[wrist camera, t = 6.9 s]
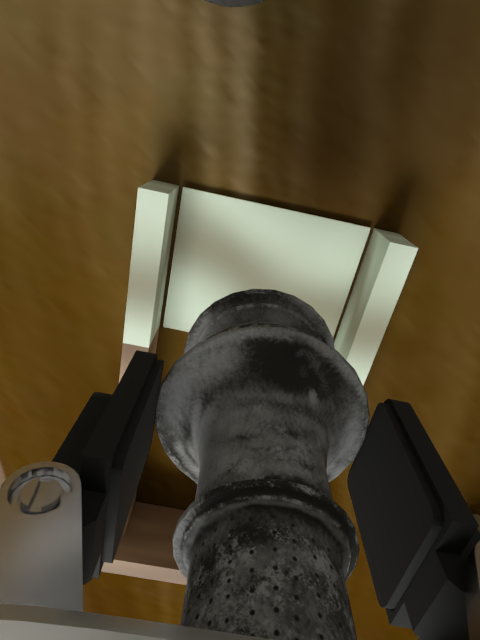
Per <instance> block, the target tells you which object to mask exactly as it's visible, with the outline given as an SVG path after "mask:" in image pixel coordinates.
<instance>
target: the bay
mask: <svg viewBox="0 0 480 640" xmlns="http://www.w3.org/2000/svg"><path fill="white" fill-rule="evenodd" d="M178 191H179V185H174V184H170V183H165V182H161V181H156V180H151V181H149V182H147V183H145V184H144V185H142V186H140V187H138V195H137V205H136V215H135V225H134V235H133V245H132V255H131V265H130V276H129V286H128V296H127V306H126V316H125V326H124V336H123V346H122V357H121V367H120V377H119V382H120V380H121V378H122V376H123V374H124V373H125V371H126V369H127V367H128V365H129V363H130V361H131V359H132V357H133V355H134V354H135V352H136V350H139V351H144V352H149V353H154V354H156V349H157V341H158V334H159V327H160V320H161V313H162V305H163V298H164V291H165V284H166V277H167V270H168V262H169V255H170V248H171V241H172V234H173V226H174V219H175V212H176V205H177V198H178ZM370 229H371V228H370V227H366V226H362V225H357V224H353V223H348V222H344V221H339V220H334V219H330V218H325V217H321V216H316V215H312V214H307V213H302V212H298V211H293V210H289V209H284V208H280V207H275V206H270V205H266V204H261V203H257V202H252V201H247V200H243V199H238V198H234V197H229V196H225V195H220V194H215V193H211V192H206V191H202V190H197V189H193V188H188V187H183V190H182V197H181V204H180V211H179V218H178V225H177V232H176V239H175V246H174V253H173V260H172V267H171V274H170V281H169V288H168V295H167V302H166V309H165V316H164V323H163V327H166V328H171V329H177V330H182V331H187V332H189V331H190V329H191V328H192V326H193V324H194V323H195V321H196V320H197V318H198V317H199V315H200V314H201V313H202V312H203V311H205V310H206V309H207V308H208V307H209V306H210V305H211V304H213V303H214V302H215V301H217V300H219V299H221V298H223V297H225V296H227V295H229V294H232V293H235V292H240V291H245V290H249V289H271V290H277V291H281V292H284V293H287V294H291V295H294V296H296V297H297V298H299V299H301V300H302V301H304V302H306V303H307V304H309V305H310V306H312V307H313V308H314V309H315V311H316V312H317V313H318V314H319V315H320V316H321V317H322V318H323V319H324V320H325V322H326V324H327V326H328V328H329V330H330V333H331V335H332V337H334V334H335V331H336V328H337V325H338V322H339V319H340V316H341V313H342V310H343V307H344V305H345V302H346V299H347V296H348V293H349V290H350V287H351V284H352V281H353V278H354V275H355V272H356V270H357V267H358V264H359V261H360V258H361V255H362V252H363V249H364V246H365V243H366V240H367V238H368V235H369V232H370ZM417 251H418V248H417V247H416V246H415V245H413V244H412V243H411V242H409V241H408V240H407V239H405V238H404V237H403V236H401V235H400V234H398V233H394V232H389V231H385V230H380V229H376V228H374V229H373V232H372V235H371V238H370V241H369V243H368V246H367V249H366V252H365V255H364V258H363V261H362V264H361V267H360V269H359V272H358V275H357V278H356V281H355V284H354V287H353V290H352V292H351V295H350V298H349V301H348V304H347V307H346V310H345V313H344V316H343V318H342V321H341V324H340V327H339V330H338V333H337V336H336V339H335V342H334V347H335V350H337V351H338V352H339V353H340V354H341V355H342V356H343V357H344V358H345V359H346V361H347V362H348V363H349V364H350V365H351V366H352V367H353V368H354V369H355V370H356V372H357V375H358V377H359V379H360V381H361V383H362V385H364V383H365V380H366V378H367V375H368V373H369V370H370V368H371V365H372V363H373V360H374V358H375V355H376V353H377V350H378V348H379V345H380V343H381V340H382V338H383V335H384V333H385V330H386V328H387V325H388V323H389V320H390V318H391V315H392V313H393V310H394V308H395V305H396V303H397V300H398V298H399V295H400V293H401V290H402V288H403V286H404V283H405V281H406V278H407V276H408V273H409V271H410V268H411V266H412V263H413V261H414V258H415V256H416V253H417ZM136 492H137V490H136ZM135 500H136V493H135V496H134V499H133V502H132V505H131V509H130V512H129V515H128V518H127V521H126V524H125V527H124V530H123V533H122V537H121V540H120V543H119V546H118V549H117V552H116V555H115V558H114V561H113V563H106V562H104V564H103V567H102V570H101V571H103V572H109V573H115V574H122V575H128V576H134V577H140V578H146V579H153V580H159V581H165V582H171V583H178V584H184V585H186V584H187V579H186V578H185V577H184V576H183V574H182V573H181V572H180V570H179V568H178V566H177V563H176V561H175V559H174V557H173V541H172V539H173V535H174V532H175V529H176V525H177V522H178V519H179V518H180V517H181V515H182V514H183V513H184V511H185V510H182V509H176V508H171V507H165V506H159V505H153V504H147V503H141V502H136V501H135Z"/></svg>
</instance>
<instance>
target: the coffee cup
mask: <svg viewBox="0 0 480 640" xmlns="http://www.w3.org/2000/svg"><path fill="white" fill-rule="evenodd" d="M205 1H208V2H210V3H213V4H217V5H221V6H228V7H241V6H248V5H253V4H256V3H259V2H262V1H264V0H205Z"/></svg>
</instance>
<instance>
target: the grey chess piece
mask: <svg viewBox="0 0 480 640" xmlns="http://www.w3.org/2000/svg"><path fill="white" fill-rule="evenodd" d="M184 352H185V354H184V355H183V356H182V357H180V358H179V359H178V360H177V361H176V362H175V363H174V365H173V366H172V368H171V369H170V371H169V372H168V374H167V375H166V377H165V379H164V380H163V382H162V383H161V387H160V390H159V395H158V401H157V407H156V415H155V416H156V430H157V433H158V435H159V438H160V441H161V443H162V446H163V448H164V451H165V452H166V453H167V455H168V456H169V457H170V459H171V460H172V461H173V463H174V464H175V465H176V466H177V468H178V469H179V470H180V471H182V472H183V473H184V474H185V475H187V476H188V477H189V478H190V479H192V480H193V481H194V482H196V483H197V490H196V496H195V501H194V502H192V503H191V504H190V505H189V506H188V508H187V509H186V510H185V511H184V513H183V514H182V515H181V517H180V518H179V519H178V522H177V525H176V529H175V532H174V535H173V539H172V541H173V557H174V559H175V561H176V563H177V566H178V568H179V570H180V572H181V573H182V574H183V576H184V577H185V578H186V579H187V584H186V590H185V597H184V604H183V611H182V618H181V625H180V626H186V627H193V628H200V629H206V630H213V631H220V632H226V633H233V634H240V635H246V636H253V637H259V638H266V639H272V640H357V636H356V631H355V626H354V622H353V617H352V612H351V607H350V602H349V597H348V592H347V587H346V581H347V579H348V578H349V576H350V575H351V573H352V571H353V570H354V568H355V567H356V563H357V558H358V554H359V544H358V538H357V533H356V529H355V527H354V525H353V523H352V522H351V520H350V518H349V516H348V515H347V513H346V512H345V511H344V510H343V509H342V508H341V507H340V506H339V505H338V504H337V503H335V502H334V501H333V500H332V495H331V491H330V486H329V482H330V481H331V480H333V479H335V478H336V477H338V476H339V474H340V473H341V472H342V471H343V470H344V469H345V468H346V467H347V466H348V465H349V464H350V463H351V462H352V461H353V460H354V459H355V457H356V455H357V453H358V452H359V450H360V448H361V446H362V444H363V442H364V439H365V436H366V433H367V428H368V423H369V418H370V415H369V407H368V399H367V393H366V391H365V389H364V387H363V385H362V383H361V381H360V379H359V377H358V375H357V372H356V370H355V369H354V368H353V367H352V366H351V365H350V364H349V363H348V362H347V361H346V359H345V358H344V357H343V356H342V355H341V354H340V353H339V352H338V351H337V350H335V347H334V341H333V337H332V335H331V333H330V330H329V328H328V326H327V324H326V322H325V320H324V319H323V318H322V317H321V316H320V315H319V314H318V313H317V312H316V311H315V309H314V308H313V307H312V306H310V305H309V304H307V303H306V302H304V301H302V300H301V299H299V298H297V297H296V296H294V295H291V294H287V293H284V292H281V291H277V290H271V289H249V290H245V291H240V292H235V293H232V294H229V295H227V296H225V297H223V298H221V299H219V300H217V301H215V302H214V303H213V304H211V305H210V306H209V307H208V308H207V309H206V310H205V311H203V312H202V313H201V314H200V315H199V317H198V318H197V320H196V321H195V323H194V324H193V326H192V328H191V329H190V331H189V334H188V338H187V342H186V345H185V349H184Z"/></svg>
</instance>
